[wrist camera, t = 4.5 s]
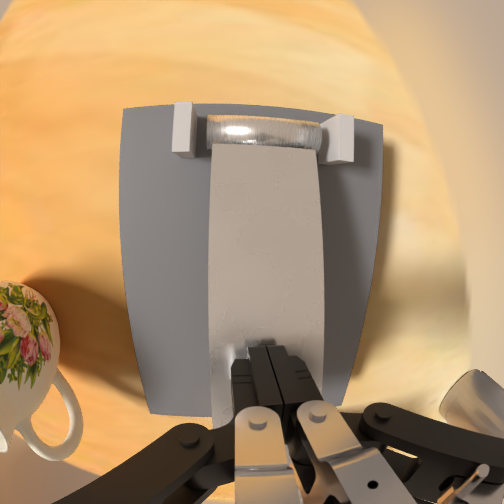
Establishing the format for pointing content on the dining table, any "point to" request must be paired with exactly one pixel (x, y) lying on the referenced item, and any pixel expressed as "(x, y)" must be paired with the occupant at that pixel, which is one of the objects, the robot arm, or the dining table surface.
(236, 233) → the metal hinged lever
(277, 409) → the robot arm
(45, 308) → the pitcher
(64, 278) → the dining table surface
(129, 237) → the block
